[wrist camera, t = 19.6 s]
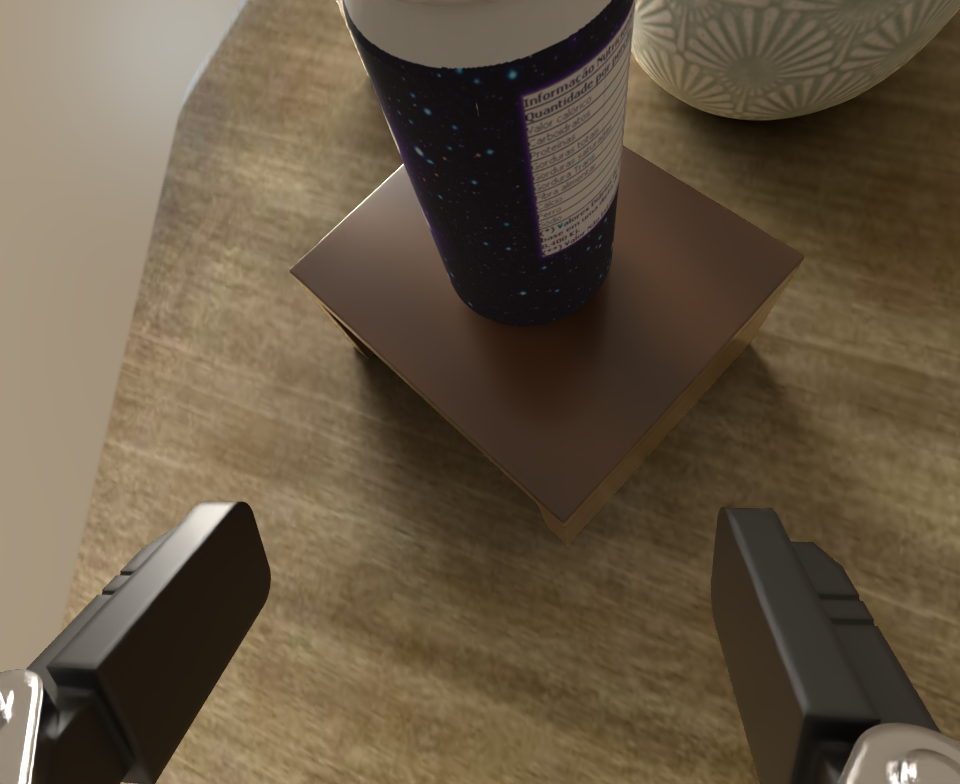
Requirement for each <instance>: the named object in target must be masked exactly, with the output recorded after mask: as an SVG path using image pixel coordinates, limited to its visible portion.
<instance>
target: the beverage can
mask: <svg viewBox="0 0 960 784" xmlns="http://www.w3.org/2000/svg"><path fill="white" fill-rule="evenodd" d="M635 2H636V0H343V9H344V14H345V17H346V20H347V23H348V25H349V28H350V30H351V33H352V35H353V38H354V40H355V43H356V46H357V48H358V51H359V53H360V56H361V58H362V61H363V63H364V66H365V68H366V71H367V73H368V76H369V78H370V81H371V83H372V86H373V88H374V91H375V93H376V96H377V98H378V101H379V103H380V106H381V108H382V111H383V113H384V116H385V118H386V121H387V123H388V126H389V128H390V131H391V133H392V136H393V138H394V141H395V144H396V146H397V149H398V151H399V154H400V156H401V159H402V161H403V164H404V166H405V169H406V171H407V174H408V176H409V179H410V181H411V184H412V186H413V189H414V191H415V194H416V196H417V199H418V201H419V204H420V206H421V209H422V211H423V214H424V216H425V219H426V221H427V224H428V226H429V229H430V231H431V234H432V237H433V239H434V242H435V244H436V247H437V249H438V252H439V254H440V257H441V259H442V262H443V264H444V267H445V269H446V272H447V274H448V277H449V279H450V282H451V284H452V286H453V288H454V290H455V292H456V293H457V295H458V296H459V297H460V299H461V300H462V301H463V302H464V303H465V304H466V305H467V306H468V307H469V308H470V309H472V310H473V311H474V312H476V313H477V314H479V315H481V316H483V317H485V318H487V319H489V320H492V321H494V322H498V323H501V324H506V325H512V326H535V325H541V324H546V323H550V322H553V321H556V320H559V319H561V318H564V317H566V316H568V315H570V314H571V313H573V312H575V311H576V310H578V309H579V308H581V307H582V306H583V305H585V304H586V303H587V302H588V301H589V300H590V299H591V298H592V297H593V296H594V295H595V294H596V292H597V291H598V290H599V288H600V287H601V285H602V284H603V282H604V280H605V279H606V276H607V274H608V271H609V269H610V265H611V261H612V253H613V243H614V232H615V221H616V210H617V199H618V188H619V177H620V166H621V155H622V144H623V133H624V122H625V111H626V100H627V89H628V78H629V67H630V56H631V46H632V35H633V24H634V13H635Z"/></svg>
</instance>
